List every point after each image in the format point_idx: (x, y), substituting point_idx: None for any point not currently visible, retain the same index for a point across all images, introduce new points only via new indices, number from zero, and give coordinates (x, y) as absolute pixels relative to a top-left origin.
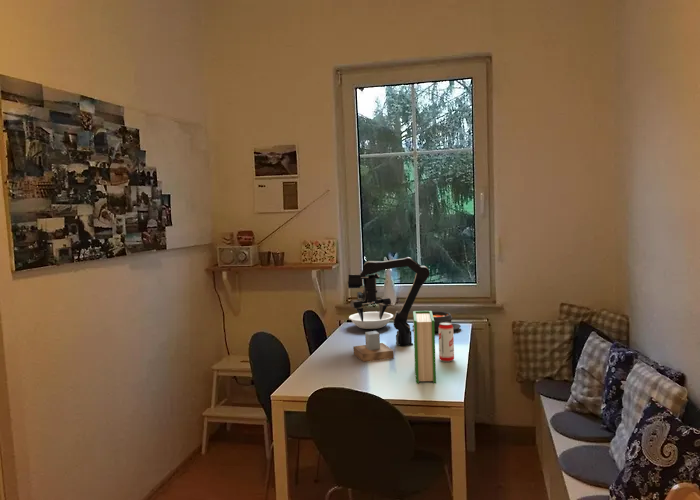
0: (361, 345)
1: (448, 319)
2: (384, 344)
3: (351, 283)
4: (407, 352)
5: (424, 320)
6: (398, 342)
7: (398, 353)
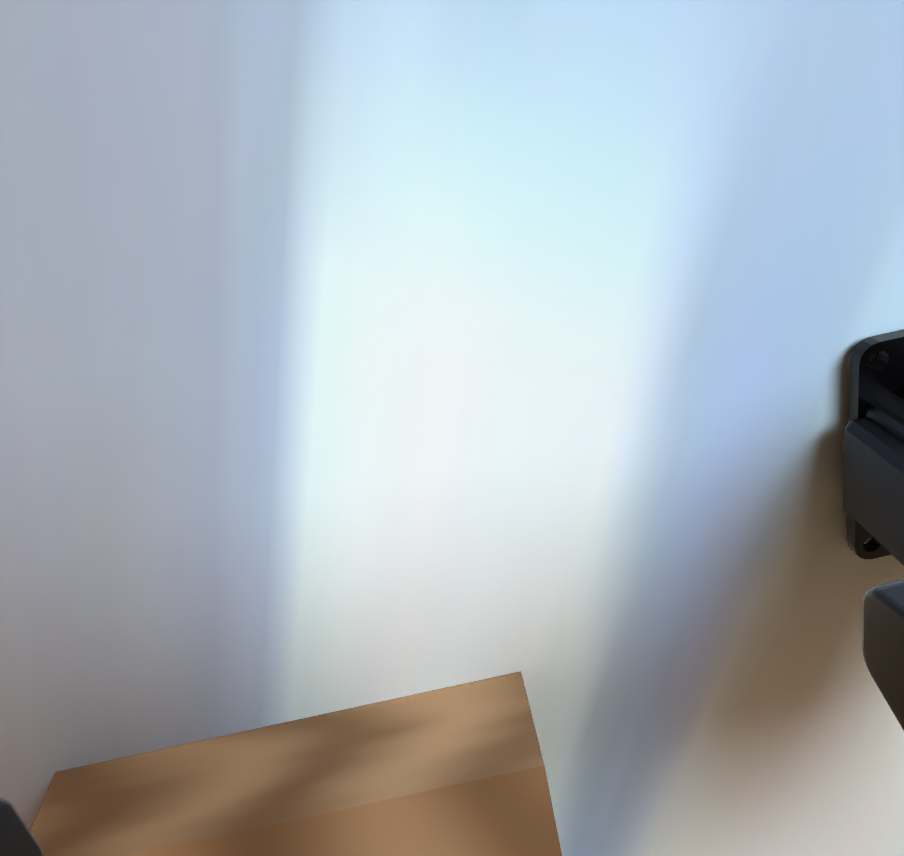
0: (156, 852)
1: None
2: (554, 847)
3: None
4: (810, 802)
5: None
6: (865, 526)
7: (688, 824)
